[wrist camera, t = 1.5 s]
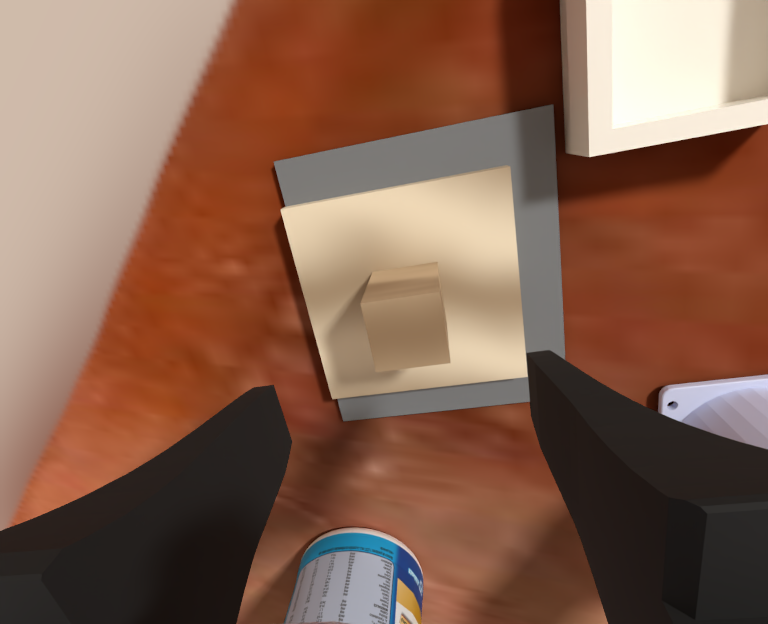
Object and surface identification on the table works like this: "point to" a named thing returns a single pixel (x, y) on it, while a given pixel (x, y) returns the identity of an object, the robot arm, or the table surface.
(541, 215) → the mat
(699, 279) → the table surface
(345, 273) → the lid
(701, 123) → the white square tray
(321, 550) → the beverage bottle
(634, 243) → the table surface
